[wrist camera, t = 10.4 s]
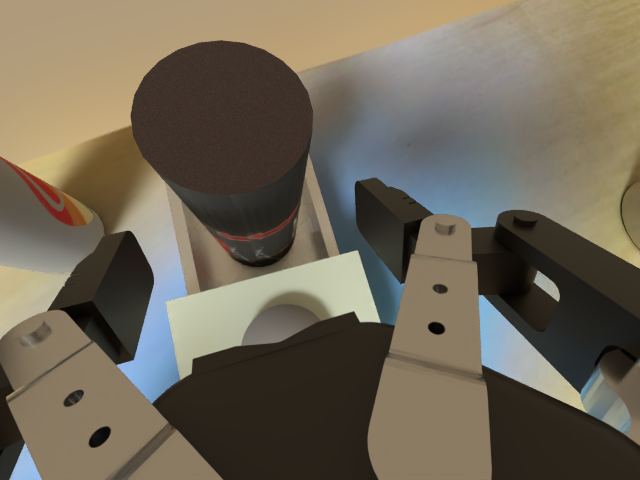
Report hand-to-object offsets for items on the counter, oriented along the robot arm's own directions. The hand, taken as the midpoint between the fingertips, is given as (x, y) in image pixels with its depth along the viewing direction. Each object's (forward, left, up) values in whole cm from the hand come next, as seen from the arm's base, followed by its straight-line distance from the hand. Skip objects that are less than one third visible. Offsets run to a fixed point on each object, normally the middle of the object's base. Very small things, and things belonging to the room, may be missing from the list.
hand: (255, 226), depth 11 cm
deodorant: (0, -3, -13) cm, 14 cm away
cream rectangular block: (0, +5, -14) cm, 15 cm away
